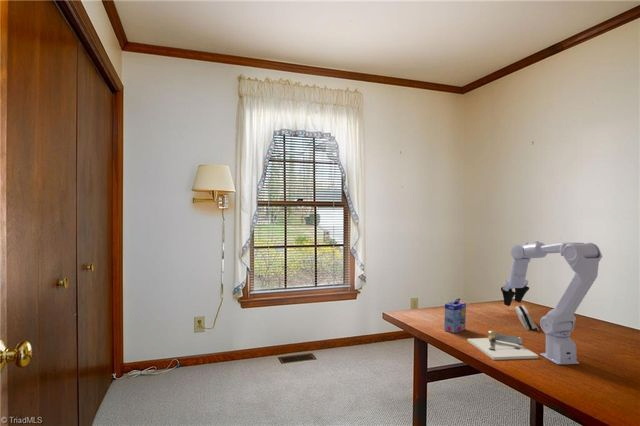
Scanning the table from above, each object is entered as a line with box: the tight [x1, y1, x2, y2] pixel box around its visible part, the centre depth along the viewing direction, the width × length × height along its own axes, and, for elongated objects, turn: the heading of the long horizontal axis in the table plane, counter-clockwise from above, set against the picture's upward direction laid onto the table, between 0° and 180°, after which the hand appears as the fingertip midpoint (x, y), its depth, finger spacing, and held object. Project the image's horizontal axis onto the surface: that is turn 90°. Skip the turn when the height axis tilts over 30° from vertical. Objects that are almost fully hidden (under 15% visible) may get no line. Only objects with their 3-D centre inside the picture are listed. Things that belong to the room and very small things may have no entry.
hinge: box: [514, 304, 540, 332], centre depth 174 cm, size 17×5×10 cm, turn 161°
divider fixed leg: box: [490, 341, 494, 350], centre depth 144 cm, size 10×1×1 cm, turn 154°
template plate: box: [467, 337, 539, 361], centre depth 143 cm, size 20×17×2 cm
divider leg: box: [487, 329, 523, 346], centre depth 147 cm, size 12×3×3 cm, turn 52°
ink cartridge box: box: [444, 297, 467, 334], centre depth 168 cm, size 10×6×14 cm, turn 130°
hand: (512, 303), depth 154 cm, fingers open, 7 cm apart
